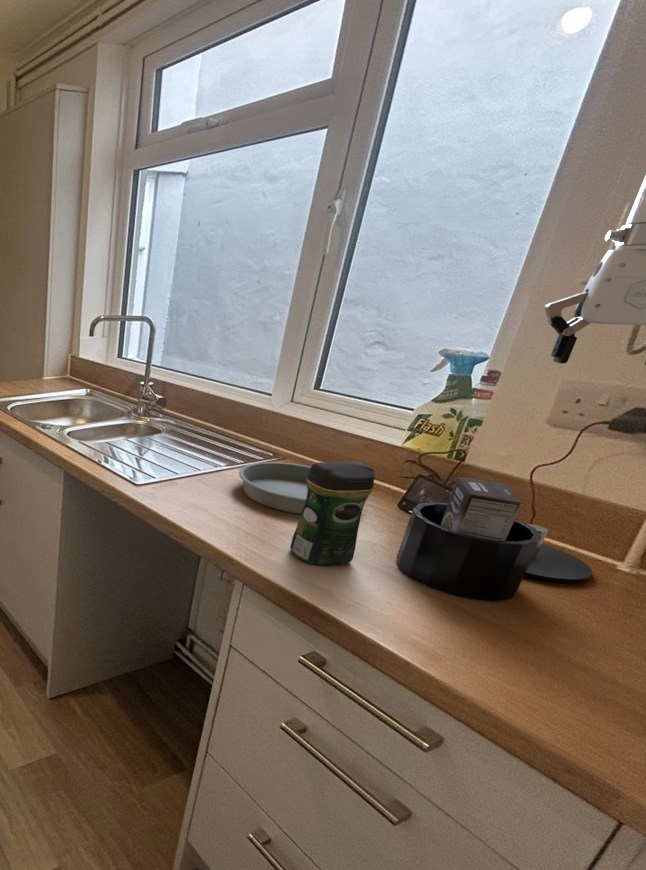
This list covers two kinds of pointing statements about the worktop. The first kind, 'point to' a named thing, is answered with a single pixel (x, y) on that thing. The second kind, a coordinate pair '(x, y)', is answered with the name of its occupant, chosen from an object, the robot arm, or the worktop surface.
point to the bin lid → (556, 563)
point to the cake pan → (276, 485)
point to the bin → (465, 557)
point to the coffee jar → (332, 512)
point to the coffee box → (481, 509)
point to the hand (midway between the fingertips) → (604, 364)
